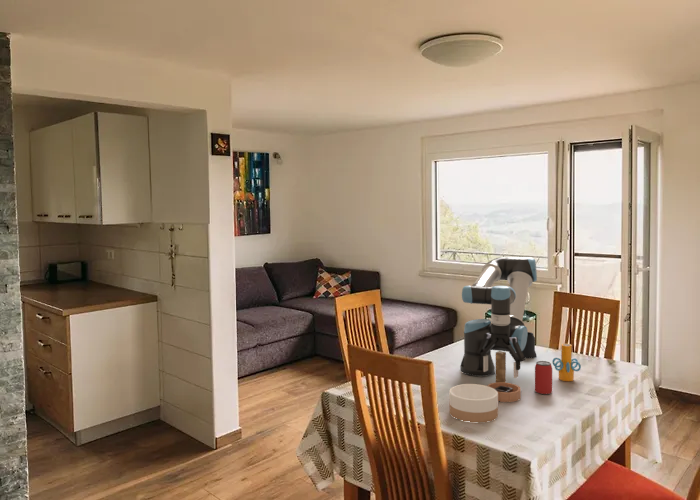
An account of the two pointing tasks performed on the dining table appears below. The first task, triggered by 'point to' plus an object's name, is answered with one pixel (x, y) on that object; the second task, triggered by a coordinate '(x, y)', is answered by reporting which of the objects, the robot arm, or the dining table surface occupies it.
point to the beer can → (543, 377)
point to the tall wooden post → (500, 366)
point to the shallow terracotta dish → (505, 395)
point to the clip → (504, 389)
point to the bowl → (473, 402)
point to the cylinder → (566, 363)
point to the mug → (530, 347)
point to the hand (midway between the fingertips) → (500, 374)
